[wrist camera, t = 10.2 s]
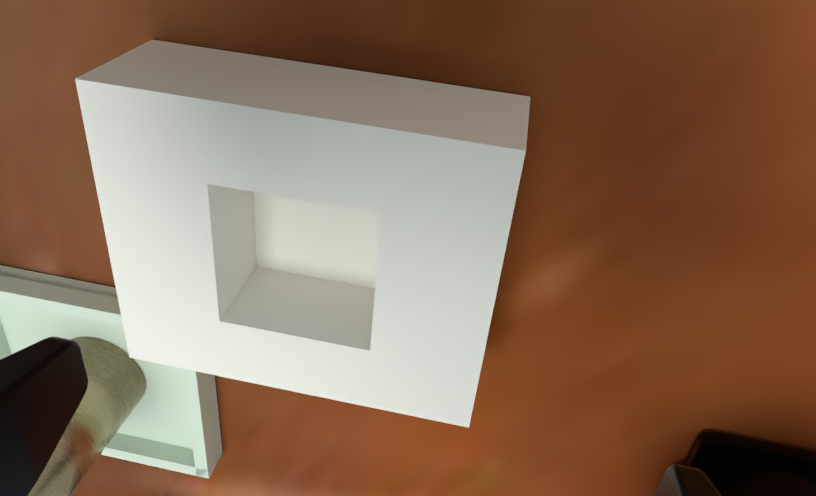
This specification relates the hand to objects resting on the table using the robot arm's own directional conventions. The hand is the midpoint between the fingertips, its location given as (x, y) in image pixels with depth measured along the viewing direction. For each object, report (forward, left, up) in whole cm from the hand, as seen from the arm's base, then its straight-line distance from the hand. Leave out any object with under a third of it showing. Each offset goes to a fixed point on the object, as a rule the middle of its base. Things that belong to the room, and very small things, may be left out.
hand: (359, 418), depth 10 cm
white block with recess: (+4, +4, -12) cm, 14 cm away
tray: (+14, +14, -12) cm, 23 cm away
